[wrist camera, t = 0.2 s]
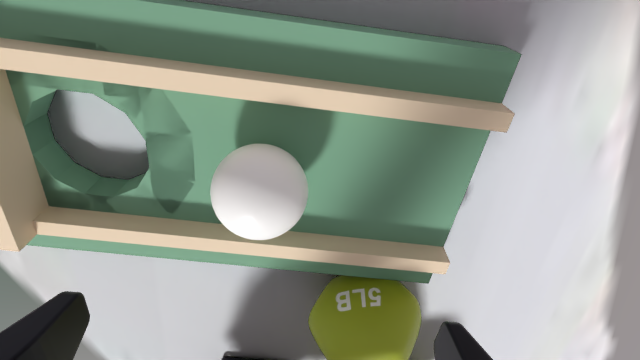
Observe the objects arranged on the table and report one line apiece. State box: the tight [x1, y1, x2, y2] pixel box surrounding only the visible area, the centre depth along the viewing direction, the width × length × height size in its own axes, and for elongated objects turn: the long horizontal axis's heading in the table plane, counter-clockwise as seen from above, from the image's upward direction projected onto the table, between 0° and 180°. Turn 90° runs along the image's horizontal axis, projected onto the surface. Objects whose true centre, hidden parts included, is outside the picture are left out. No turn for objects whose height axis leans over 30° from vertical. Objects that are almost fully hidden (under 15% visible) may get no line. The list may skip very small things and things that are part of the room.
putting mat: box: [0, 0, 522, 283], centre depth 20 cm, size 16×28×5 cm, turn 83°
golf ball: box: [210, 144, 308, 240], centre depth 19 cm, size 5×5×5 cm
